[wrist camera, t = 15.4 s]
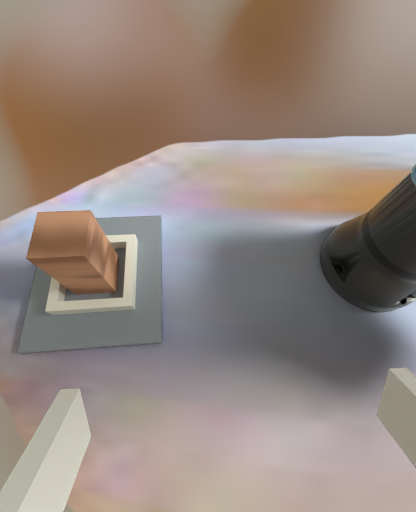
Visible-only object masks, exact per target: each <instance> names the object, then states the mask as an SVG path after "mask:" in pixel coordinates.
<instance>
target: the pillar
mask: <svg viewBox="0 0 416 512" xmlns="http://www.w3.org/2000/svg"><path fill="white" fill-rule="evenodd" d="M26 259H28V260H29V261H31V262H32V263H33V264H35V265H36V266H37V267H39V268H40V269H42V270H43V271H44V272H46V273H47V274H48V275H50V276H51V277H53V278H54V279H55V280H57V281H58V282H60V283H61V284H62V285H64V286H65V287H66V288H68V289H69V290H71V291H72V292H73V293H75V294H76V295H80V294H97V293H113V292H117V279H118V266H119V256H118V255H117V253H116V251H115V250H114V248H113V247H112V245H111V243H110V242H109V240H108V238H107V237H106V235H105V233H104V232H103V230H102V228H101V227H100V225H99V224H98V222H97V220H96V219H95V217H94V215H93V214H92V212H91V210H87V211H58V212H38V213H37V217H36V221H35V225H34V229H33V233H32V237H31V241H30V246H29V250H28V254H27V258H26Z"/></svg>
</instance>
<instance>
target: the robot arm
mask: <svg viewBox="0 0 416 512" xmlns="http://www.w3.org/2000/svg"><path fill="white" fill-rule="evenodd" d="M320 259H321V265H322V269H323V272H324V274H325V276H326V278H327V280H328V282H329V283H330V285H331V286H332V287H333V288H334V289H335V291H336V292H337V293H338V294H339V295H341V296H342V297H343V298H344V299H346V300H347V301H349V302H350V303H352V304H354V305H356V306H358V307H360V308H363V309H366V310H369V311H375V312H387V311H392V310H395V309H398V308H401V307H404V306H406V305H408V304H410V303H412V302H413V301H414V300H416V164H415V166H414V167H413V168H412V172H411V173H409V174H408V175H407V176H406V177H405V178H404V179H403V180H402V181H401V182H400V183H399V184H398V185H397V186H396V187H394V188H393V189H392V190H391V191H390V192H389V193H388V194H387V195H386V196H385V197H384V198H383V199H382V200H380V201H379V202H378V203H377V204H376V205H375V206H374V207H373V208H372V209H371V210H370V211H369V212H368V213H365V214H363V215H361V216H358V217H356V218H354V219H351V220H349V221H347V222H344V223H342V224H341V225H339V226H338V227H336V228H335V229H334V230H333V231H332V232H331V233H330V234H329V235H328V237H327V238H326V239H325V241H324V243H323V245H322V248H321V254H320ZM377 417H378V418H379V420H380V421H381V422H382V424H383V425H384V426H385V428H386V429H387V430H388V432H389V433H390V434H391V436H392V437H393V438H394V440H395V441H396V442H397V444H398V445H399V446H400V448H401V449H402V450H403V452H404V453H405V454H406V456H407V457H408V458H409V460H410V461H411V463H412V464H413V465H414V467H415V468H416V376H414V375H413V374H412V373H411V372H410V371H409V370H408V369H407V368H392V369H389V371H388V375H387V378H386V382H385V386H384V390H383V393H382V397H381V401H380V405H379V408H378V412H377ZM90 438H91V434H90V430H89V426H88V421H87V417H86V413H85V409H84V404H83V400H82V396H81V392H80V388H77V389H61V390H60V391H59V393H58V394H57V396H56V398H55V400H54V401H53V403H52V405H51V406H50V408H49V410H48V412H47V413H46V415H45V417H44V418H43V420H42V422H41V423H40V425H39V427H38V429H37V430H36V432H35V434H34V435H33V437H32V439H31V441H30V442H29V444H28V446H27V447H26V449H25V451H24V452H23V454H22V456H21V458H20V459H19V461H18V463H17V465H16V466H15V468H14V470H13V471H12V473H11V475H10V476H9V478H8V480H7V481H6V483H5V485H4V487H3V488H2V490H1V492H0V512H63V511H64V508H65V506H66V503H67V500H68V497H69V495H70V492H71V489H72V487H73V484H74V481H75V479H76V476H77V473H78V470H79V468H80V465H81V462H82V460H83V457H84V454H85V452H86V449H87V446H88V444H89V441H90Z"/></svg>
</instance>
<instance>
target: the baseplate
mask: <svg viewBox="0 0 416 512" xmlns="http://www.w3.org/2000/svg"><path fill="white" fill-rule="evenodd" d="M95 219H96V220H97V222H98V224H99V225H100V227H101V228H102V230H103V232H104V233H105V235H106V237H107V238H108V240H109V242H110V243H111V245H112V247H113V248H114V250H115V251H116V253H117V255H118V256H119V266H118V279H117V292H113V293H97V294H80V295H76V294H75V293H73V292H72V291H71V290H69V289H68V288H66V287H65V286H64V285H62V284H61V283H60V282H58V281H57V280H55V279H54V278H53V277H51V276H50V275H48V274H47V273H46V272H44V271H43V270H42V269H40V268H39V267H37V266H36V270H35V275H34V279H33V284H32V288H31V293H30V297H29V302H28V306H27V311H26V315H25V320H24V324H23V329H22V333H21V338H20V342H19V347H18V351H17V353H21V354H27V353H40V352H52V351H65V350H78V349H91V348H104V347H117V346H129V345H142V344H155V343H162V239H161V216H138V217H112V218H95Z"/></svg>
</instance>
